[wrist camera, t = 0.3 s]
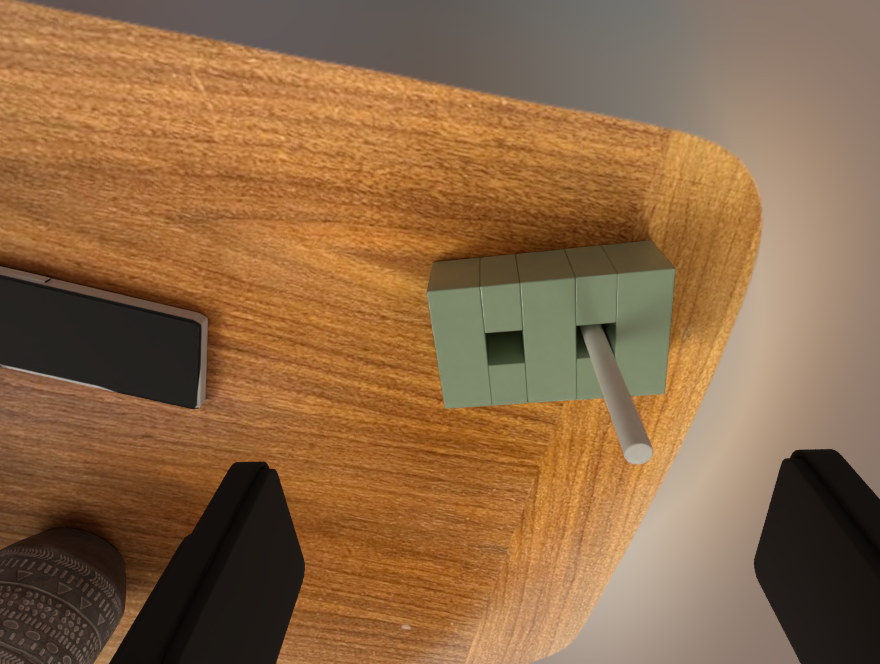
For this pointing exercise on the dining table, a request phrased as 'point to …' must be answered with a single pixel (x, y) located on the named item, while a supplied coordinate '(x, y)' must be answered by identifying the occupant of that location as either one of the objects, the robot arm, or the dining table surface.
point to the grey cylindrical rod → (617, 397)
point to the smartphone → (102, 339)
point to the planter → (59, 597)
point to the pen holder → (550, 322)
